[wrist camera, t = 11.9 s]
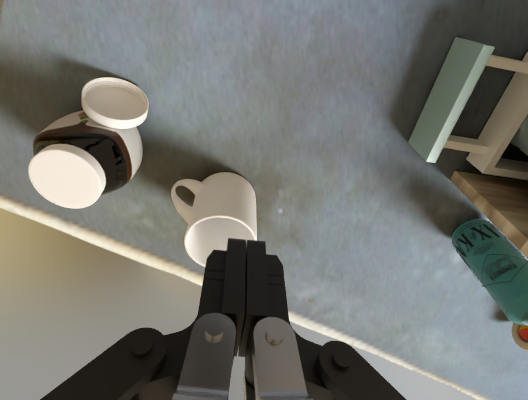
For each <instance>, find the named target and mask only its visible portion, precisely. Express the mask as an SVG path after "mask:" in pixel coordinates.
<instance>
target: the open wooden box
mask: <svg viewBox="0 0 528 400" xmlns="http://www.w3.org/2000/svg"><path fill="white" fill-rule="evenodd" d="M450 180H451V181H452V182H453V183H454V184H455V186H456V187H457V188H458V189H459V190H460V191H461V192H462V193H463V194H464V195H465V196H466V197H467V198H468V199H469V200H470V201H471V202H472V203H473V204H474V205H475V206H476V207H477V208H478V209H479V210H480V211H481V212H482V213H483V214H484V215H485V216H486V217H487V218H488V219H489V220H490V221H491V222H492V223H493V224H494V225H495V226H496V227H497V228H498V229H499V230H500V231H501V232H502V233H503V234H504V235H505V236H506V237H507V238H508V239H509V240H510V241H511V242H512V243H513V244H514V245H515V246H516V247H517V248H518V249H519V250H520V251H521V252H522V253H523V254H524V255H525V256H526V257H527V258H528V182H525V181H519V180H512V179H506V178H499V177H493V176H486V175H480V174H473V173H467V172H460V171H454V173H453V175H452V176H451V178H450Z"/></svg>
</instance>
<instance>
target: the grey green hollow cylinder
mask: <svg viewBox="0 0 528 400" xmlns="http://www.w3.org/2000/svg"><path fill="white" fill-rule="evenodd" d="M510 143H512V144H513V145H515V146H516V147H519V149H520V150H521V151H523V152H524V153H525V154H526V155H528V115H527V116H526V118H525V119H524V121H523V122H522V124H521V126H520V127H519V129H518V130H517V132H516V134H515V135H514V137H513V138H512V140H511V141H510Z"/></svg>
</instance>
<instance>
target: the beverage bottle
mask: <svg viewBox="0 0 528 400" xmlns="http://www.w3.org/2000/svg"><path fill="white" fill-rule="evenodd" d="M496 228H497V227H496ZM496 228H495V227H494V226H493V225H492V224H491V223H490V222H489V221H486V220H484V219H473V220H469V221H467V222H465V223H463V224H461V225H460V226H459V227H458V228H457V229H456V230H455V231H454V233H453V235H452V244H453V245H454V248H456V249H457V250H456V251H457V252H458V254H459V253H460V254H459V255H460V256H461V258H462V259H463V260H464V262H465V263H466V264H467V265H468V267H469V268H471V269H470V270H472V271H473V273H474V276H475V275H476V276H477V280H478V279H479V280H480V282H481V283H482V285H483V286H484V287H485V288H486V289H487V291H488V292H489V293H490V295H491V296H492V297H493V299H494V300H495V301H496V303H497V304H498V305H499V307H500V308H501V309H502V311H503V312H504V313H505V315H506V317H507V318H508V319H509V320H510V321H511V322H514V323H517V324H520V325H527V326H528V261H527V260H526V259H525V258H524V256H522V255H521V253H519V252H520V251H519V252H518V250H516V249H517V248H516V247H515V246H514V247H515V248H516V249H515V248H514V247H513V244H512V245H511V244H510V241H508V240H507V239H506V237H504V236H503V235H502V234H503V233H502V232H501V231H500V230H499V229H498V228H497V229H496ZM498 230H499V231H500V232H501V233H502V234H501V233H500V232H499V231H498ZM472 271H471V272H472ZM483 286H482V287H483Z"/></svg>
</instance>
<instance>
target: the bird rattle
mask: <svg viewBox="0 0 528 400" xmlns="http://www.w3.org/2000/svg"><path fill="white" fill-rule="evenodd" d="M512 336H513V339H514V341H515V342H516V343H517V344H518V345H519V346H520V347H521V348H523V349H524V350H526V351H528V326H527V325H520V324H517V323H514V322H513V326H512Z"/></svg>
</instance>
